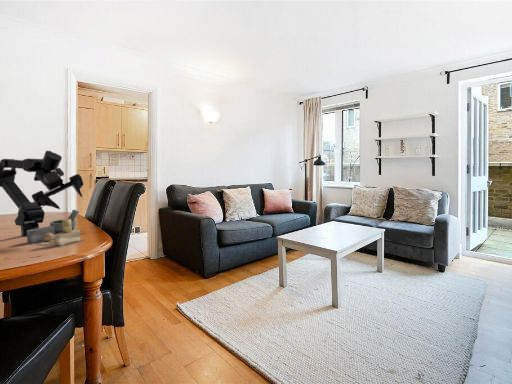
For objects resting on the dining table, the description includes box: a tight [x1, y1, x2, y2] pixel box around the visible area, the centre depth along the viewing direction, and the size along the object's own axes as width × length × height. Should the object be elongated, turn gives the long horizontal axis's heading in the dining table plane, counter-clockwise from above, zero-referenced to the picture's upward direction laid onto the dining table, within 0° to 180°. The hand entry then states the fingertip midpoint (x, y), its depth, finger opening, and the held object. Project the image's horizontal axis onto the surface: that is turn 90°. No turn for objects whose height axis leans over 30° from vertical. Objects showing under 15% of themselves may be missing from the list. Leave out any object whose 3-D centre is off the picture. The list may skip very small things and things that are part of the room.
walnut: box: [43, 233, 54, 241], centre depth 115 cm, size 4×4×4 cm
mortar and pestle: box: [49, 209, 80, 234], centre depth 130 cm, size 11×9×12 cm
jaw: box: [54, 218, 81, 245], centre depth 112 cm, size 3×9×9 cm, turn 165°
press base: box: [23, 225, 87, 249], centre depth 114 cm, size 19×12×6 cm, turn 75°
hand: (70, 202), depth 116 cm, fingers open, 9 cm apart
